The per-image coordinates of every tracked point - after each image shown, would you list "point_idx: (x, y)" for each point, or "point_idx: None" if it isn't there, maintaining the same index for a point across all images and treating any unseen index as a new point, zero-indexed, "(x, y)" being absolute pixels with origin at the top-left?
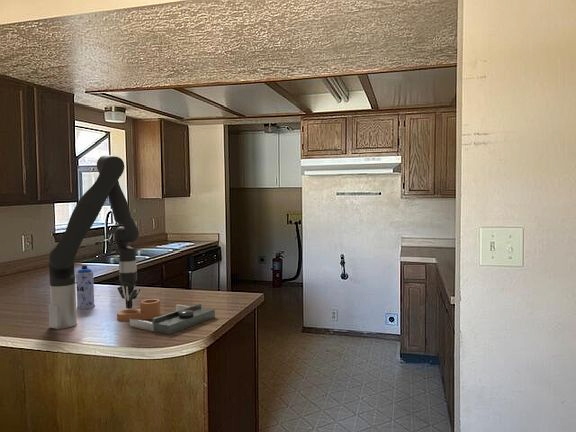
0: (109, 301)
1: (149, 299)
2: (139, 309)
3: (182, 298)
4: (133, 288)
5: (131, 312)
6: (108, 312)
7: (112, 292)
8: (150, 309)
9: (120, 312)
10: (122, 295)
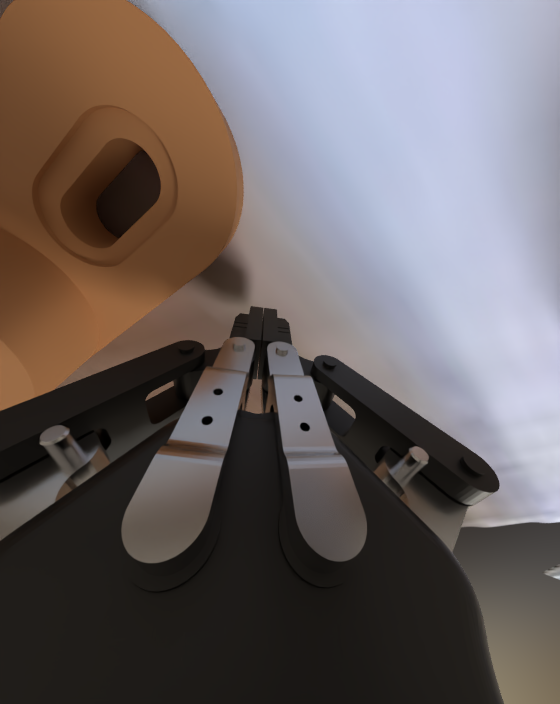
0: (502, 424)
1: (11, 400)
2: (123, 303)
3: None
4: (47, 509)
5: (133, 226)
6: (420, 265)
7: (526, 489)
8: None
9: (176, 118)
10: (340, 380)
